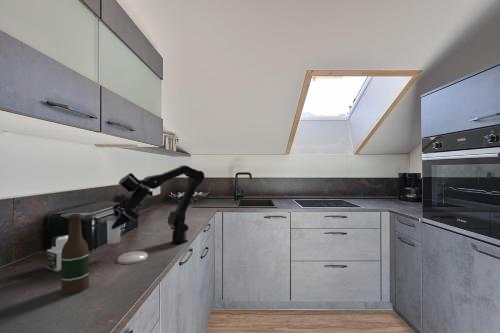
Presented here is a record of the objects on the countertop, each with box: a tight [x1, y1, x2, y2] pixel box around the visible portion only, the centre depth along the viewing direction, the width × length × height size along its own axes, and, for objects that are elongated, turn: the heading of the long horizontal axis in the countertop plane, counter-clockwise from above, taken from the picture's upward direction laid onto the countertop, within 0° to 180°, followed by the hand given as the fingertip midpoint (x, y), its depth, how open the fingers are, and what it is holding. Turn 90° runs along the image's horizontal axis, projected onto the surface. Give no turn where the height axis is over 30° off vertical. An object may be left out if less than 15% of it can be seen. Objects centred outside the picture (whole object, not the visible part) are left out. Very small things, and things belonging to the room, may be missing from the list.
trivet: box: [116, 250, 149, 265], centre depth 106 cm, size 12×12×1 cm
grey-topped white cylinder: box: [106, 215, 121, 245], centre depth 107 cm, size 5×5×11 cm
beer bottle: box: [60, 213, 90, 296], centre depth 80 cm, size 8×8×24 cm
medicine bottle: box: [46, 234, 68, 272], centre depth 98 cm, size 7×7×12 cm
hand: (110, 227), depth 106 cm, fingers closed on grey-topped white cylinder, 5 cm apart
